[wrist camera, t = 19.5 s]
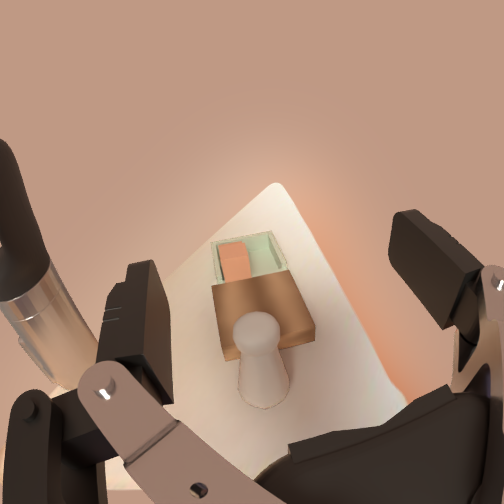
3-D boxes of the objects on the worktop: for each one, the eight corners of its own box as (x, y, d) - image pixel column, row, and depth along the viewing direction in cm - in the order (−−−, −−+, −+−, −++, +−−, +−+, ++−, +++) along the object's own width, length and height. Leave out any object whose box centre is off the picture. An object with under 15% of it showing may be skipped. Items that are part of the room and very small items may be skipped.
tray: (220, 296, 50) (217, 279, 48) (213, 258, 58) (210, 242, 56) (288, 282, 51) (287, 265, 49) (272, 246, 59) (271, 230, 57)
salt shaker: (245, 419, 32) (225, 356, 25) (237, 380, 37) (218, 308, 30) (295, 408, 33) (295, 341, 25) (283, 370, 38) (278, 295, 30)
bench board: (225, 361, 40) (221, 347, 38) (214, 300, 49) (211, 285, 48) (314, 340, 41) (315, 326, 39) (289, 284, 51) (288, 269, 49)
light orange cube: (225, 282, 48) (220, 260, 46) (223, 268, 51) (219, 247, 49) (251, 277, 48) (248, 255, 46) (247, 264, 52) (244, 242, 50)
